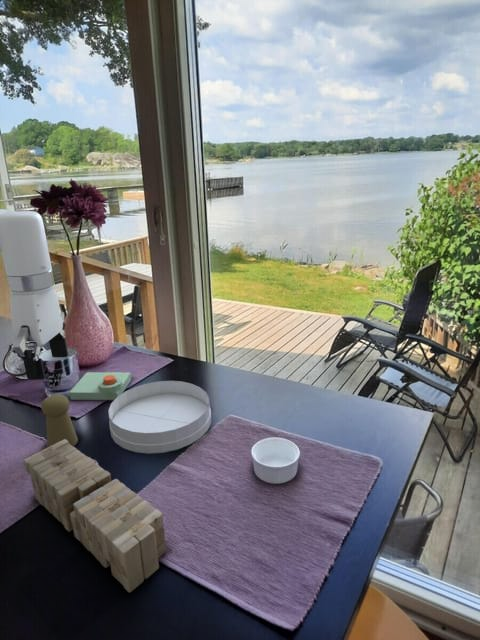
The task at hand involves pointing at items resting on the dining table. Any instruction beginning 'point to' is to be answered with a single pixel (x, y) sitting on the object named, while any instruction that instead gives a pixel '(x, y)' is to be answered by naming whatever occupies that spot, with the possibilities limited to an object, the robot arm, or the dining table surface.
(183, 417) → the dish
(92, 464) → the block tower
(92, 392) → the scale
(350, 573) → the dining table surface
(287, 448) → the ramekin
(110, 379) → the button
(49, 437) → the brown rounded upright piece
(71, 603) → the dining table surface
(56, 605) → the dining table surface
